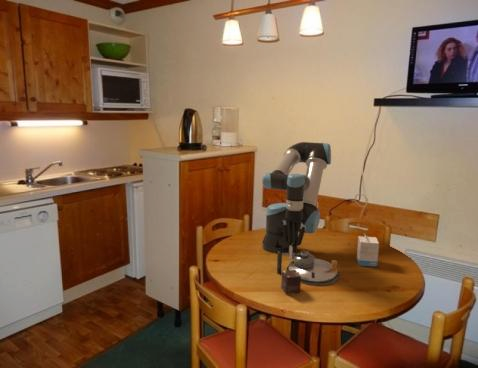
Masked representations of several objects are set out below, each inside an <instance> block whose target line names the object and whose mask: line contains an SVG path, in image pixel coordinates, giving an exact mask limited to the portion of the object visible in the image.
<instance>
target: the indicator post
mask: <svg viewBox="0 0 478 368" xmlns="http://www.w3.org/2000/svg"><path fill="white" fill-rule="evenodd" d="M276 256H277V257H276V259H277V260H276V261H277V263H276V274H277V275H282V271H283V270H282V266H283V263H282V262H283V256H288V257H289V256H290V253H289V252H282V251H278V252H277V255H276Z"/></svg>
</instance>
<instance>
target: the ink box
mask: <svg viewBox="0 0 478 368" xmlns="http://www.w3.org/2000/svg"><path fill="white" fill-rule="evenodd" d="M363 234H364V236H360V235H358V237H357V249H356V260H357V264H358V266H363V267H364V266H365V267H376V268H377V267H378V263H379V262H378V259H379V249H380V242H379V240H378V238H377V237H376V236H368V235H366V233H363Z"/></svg>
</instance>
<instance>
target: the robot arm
mask: <svg viewBox="0 0 478 368" xmlns="http://www.w3.org/2000/svg"><path fill="white" fill-rule="evenodd" d="M283 153H284V154H283V157H282V158H281V160H280V161H279V162H278V164H277V165H276V167H275V168H274V169H273V171H272V172H265V173H264V174H263V175H262V180H261V182H262V187H263V188H264V189H268V190H269V189H270V190H280V191H286V202H278V203H272V204H269V205H268V206H267V207H266V213H265V217H266V218H265V220H266V221H265V234H264V236H263V240H262V243H261V244H262V245H261V246H262V249H263V250H265V251H267V252H270V253H278V251H282V253H287V252H288V253H290V256H288V259H289V260H291V261H293V260H294V255H295V254H296V253H298V246H300V245H302V242H303V239H304V236H305V234H314V233H315V232H317V230H318V227H319V224H320V219H321V212H320V211H319V207H318V206H317V202H318V197H319V192H320V186H321V183H322V182H321V181H322V177H323V174H324V170H326V168H327V166H328V165H331V164H332V163H331V162H332V149H331V144H330V143H328V142H309V141H308V142H307V141H300V142H297V143H295V144H293V145H291V146H290V147H288V148H287V149H286V150H285V152H283ZM299 163H303V164H304V163H305V166H306V172H305V174H301V173H291V171H293V169H294V167H295V166H296V165H298V164H299Z"/></svg>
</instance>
